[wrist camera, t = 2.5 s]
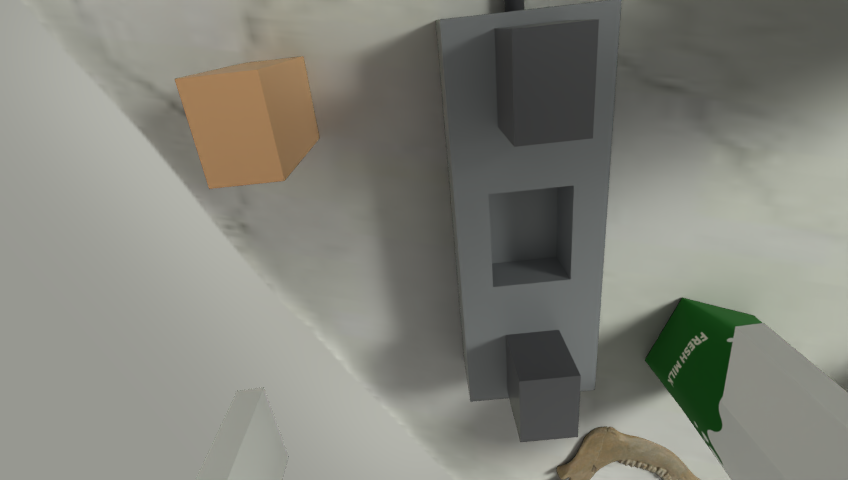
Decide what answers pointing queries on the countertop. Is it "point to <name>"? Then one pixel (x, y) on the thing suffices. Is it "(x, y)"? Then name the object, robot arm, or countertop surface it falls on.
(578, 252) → the power strip
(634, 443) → the jawbone
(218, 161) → the plug
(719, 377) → the milk carton
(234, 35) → the countertop surface
